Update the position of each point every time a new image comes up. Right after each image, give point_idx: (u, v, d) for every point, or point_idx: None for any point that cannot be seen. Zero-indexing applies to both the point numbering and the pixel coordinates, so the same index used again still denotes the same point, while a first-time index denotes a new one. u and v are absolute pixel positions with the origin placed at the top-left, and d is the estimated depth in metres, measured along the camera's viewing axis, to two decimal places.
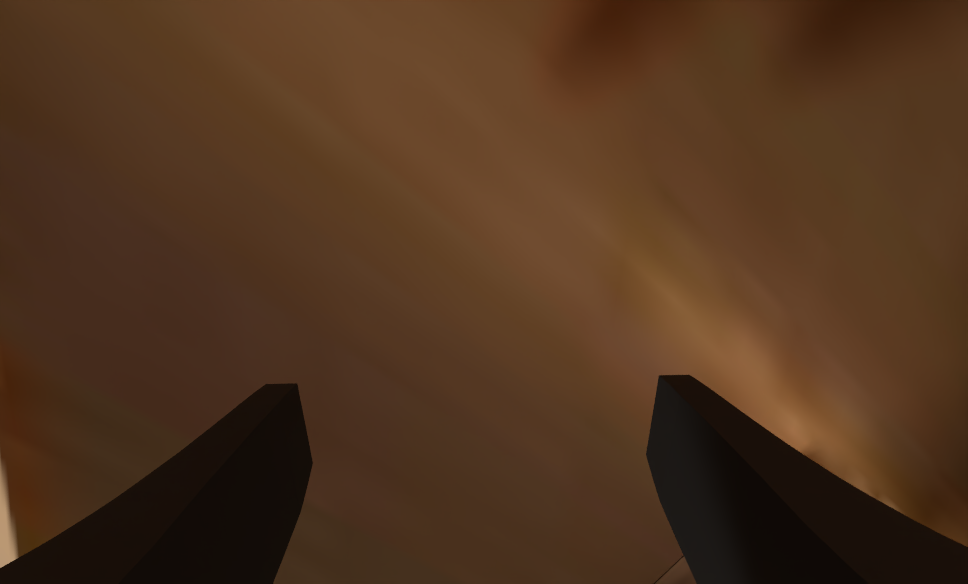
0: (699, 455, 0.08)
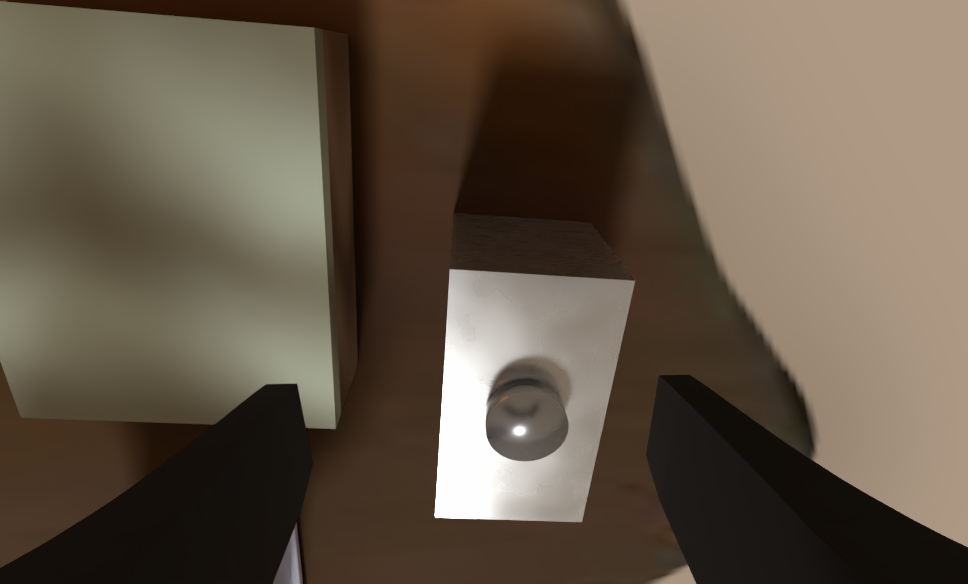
0: (699, 455, 0.09)
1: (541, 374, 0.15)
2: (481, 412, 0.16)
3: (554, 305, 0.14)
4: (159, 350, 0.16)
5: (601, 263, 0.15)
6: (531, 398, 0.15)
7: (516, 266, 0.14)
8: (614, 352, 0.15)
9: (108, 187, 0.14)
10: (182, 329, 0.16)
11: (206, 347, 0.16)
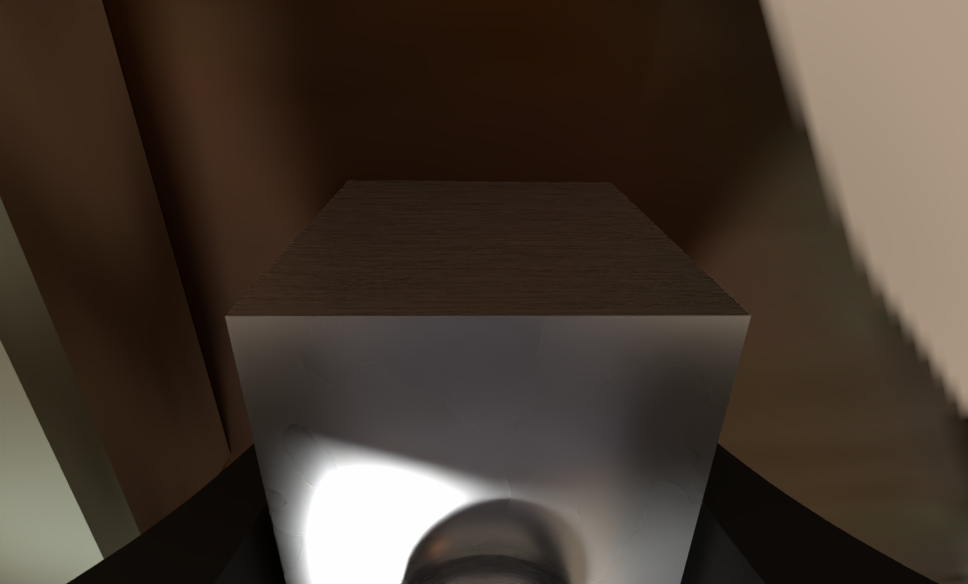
0: None
1: (515, 544, 0.06)
2: None
3: (530, 392, 0.05)
4: None
5: (647, 270, 0.06)
6: None
7: (423, 292, 0.05)
8: (693, 488, 0.06)
9: None
10: None
11: None
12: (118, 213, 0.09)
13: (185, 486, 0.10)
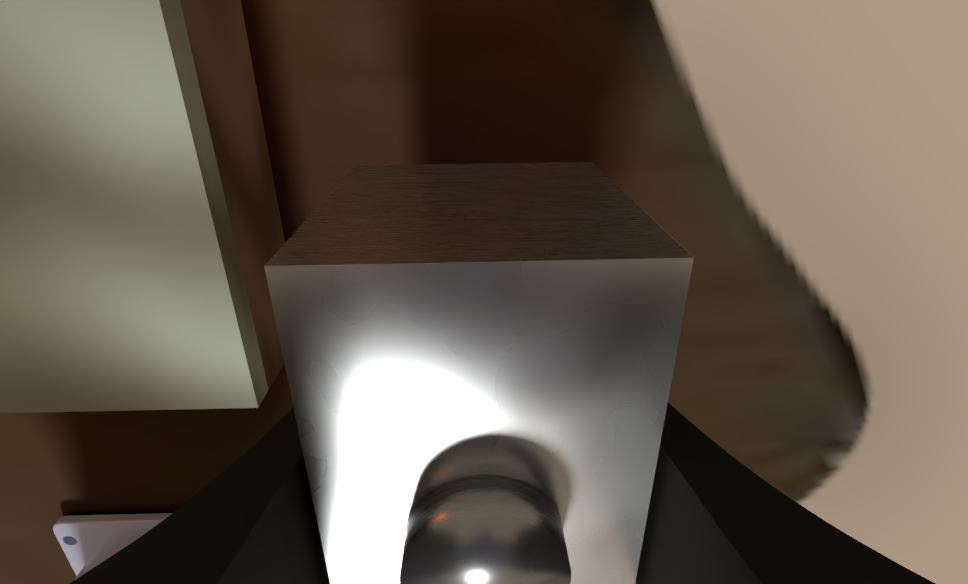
0: None
1: (507, 464, 0.07)
2: (399, 539, 0.08)
3: (515, 327, 0.06)
4: (22, 321, 0.13)
5: (614, 228, 0.07)
6: (485, 525, 0.07)
7: (423, 247, 0.06)
8: (656, 410, 0.07)
9: None
10: (43, 292, 0.12)
11: (78, 313, 0.13)
12: (250, 148, 0.14)
13: None
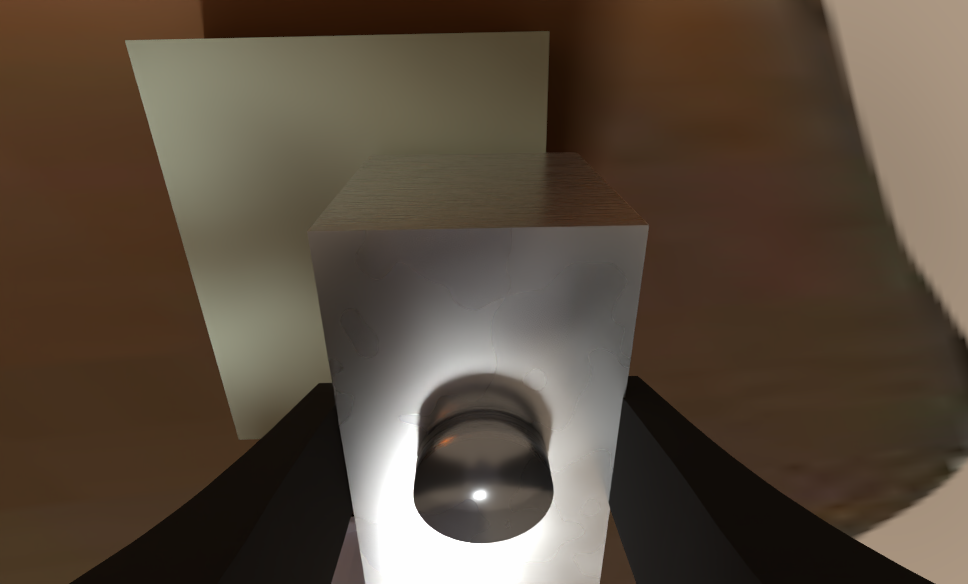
0: (637, 457, 0.08)
1: (501, 400, 0.09)
2: (411, 466, 0.10)
3: (507, 282, 0.08)
4: None
5: (588, 204, 0.09)
6: (483, 446, 0.08)
7: (433, 218, 0.08)
8: (623, 354, 0.09)
9: None
10: None
11: None
12: None
13: None
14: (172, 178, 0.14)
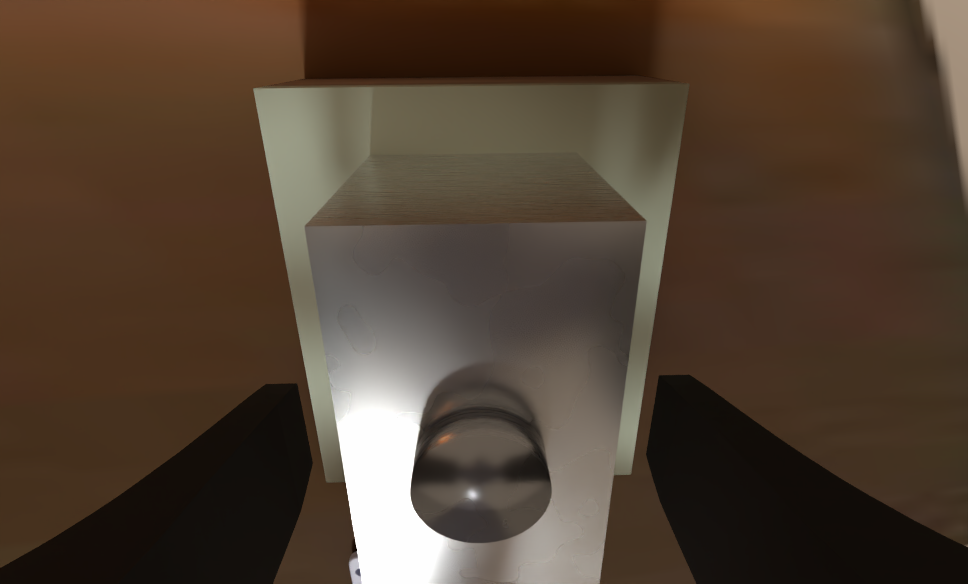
0: (699, 455, 0.09)
1: (499, 398, 0.09)
2: (409, 465, 0.09)
3: (504, 278, 0.08)
4: None
5: (586, 201, 0.09)
6: (480, 443, 0.08)
7: (430, 214, 0.08)
8: (621, 351, 0.09)
9: None
10: None
11: None
12: None
13: None
14: (286, 225, 0.13)
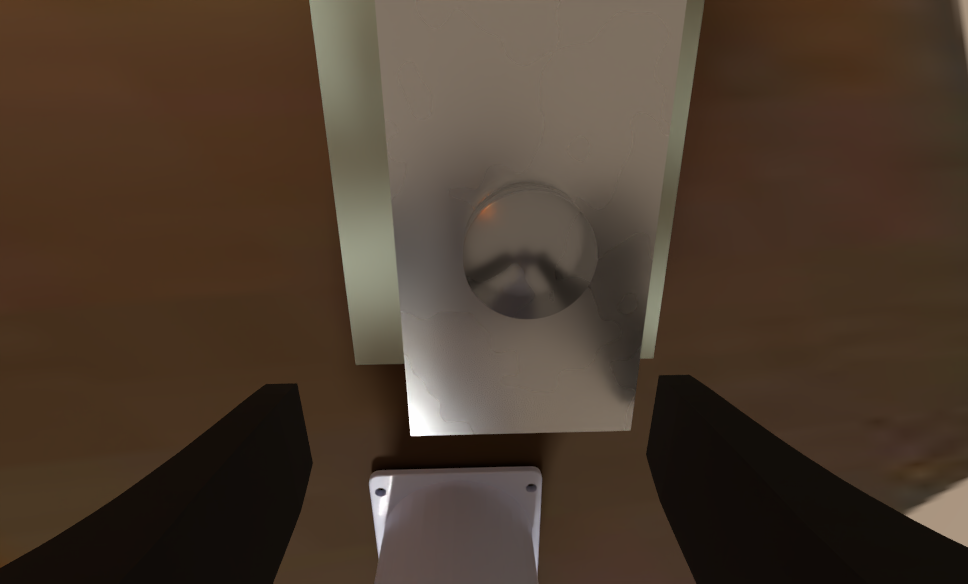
0: (699, 455, 0.08)
1: (546, 172, 0.09)
2: (457, 250, 0.10)
3: (556, 34, 0.08)
4: None
5: None
6: (531, 200, 0.09)
7: None
8: (663, 119, 0.09)
9: None
10: None
11: None
12: None
13: None
14: (327, 82, 0.14)
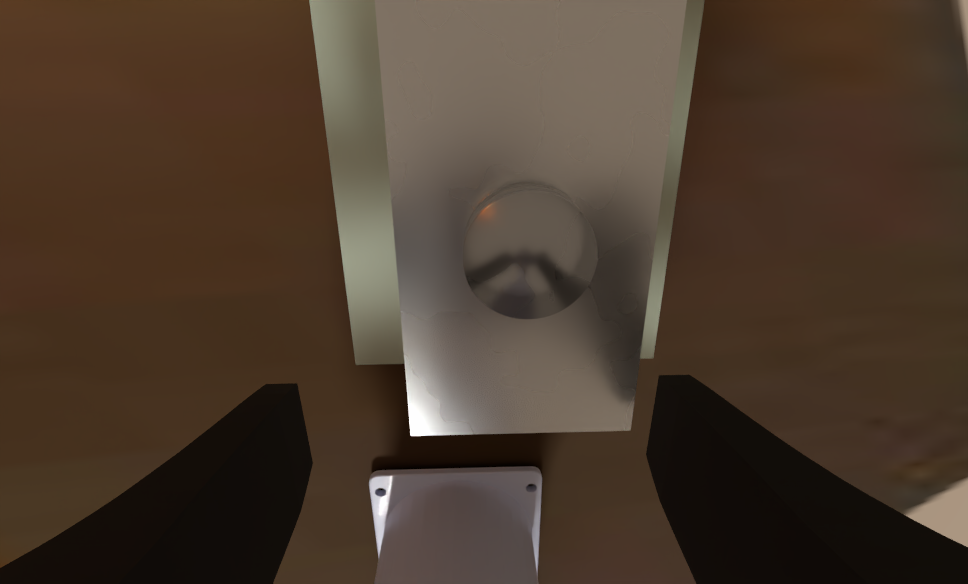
0: (699, 455, 0.08)
1: (546, 172, 0.09)
2: (457, 250, 0.10)
3: (556, 34, 0.08)
4: None
5: None
6: (531, 200, 0.09)
7: None
8: (663, 119, 0.09)
9: None
10: None
11: None
12: None
13: None
14: (327, 82, 0.14)
